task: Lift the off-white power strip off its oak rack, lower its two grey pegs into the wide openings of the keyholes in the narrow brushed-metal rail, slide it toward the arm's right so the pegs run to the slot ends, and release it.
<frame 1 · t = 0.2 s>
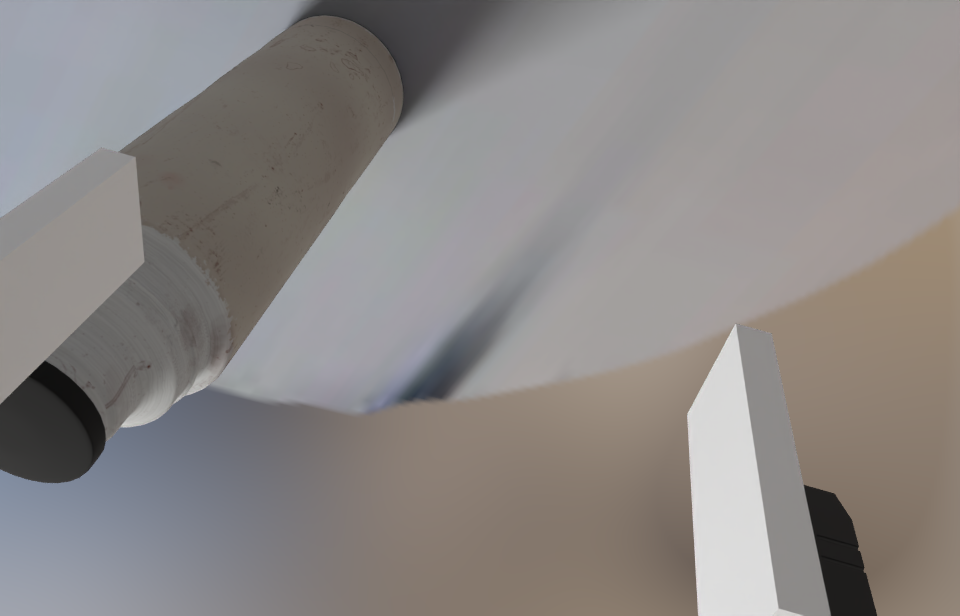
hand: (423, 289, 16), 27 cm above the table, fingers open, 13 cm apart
thermos bottle: (337, 85, 44), on the table
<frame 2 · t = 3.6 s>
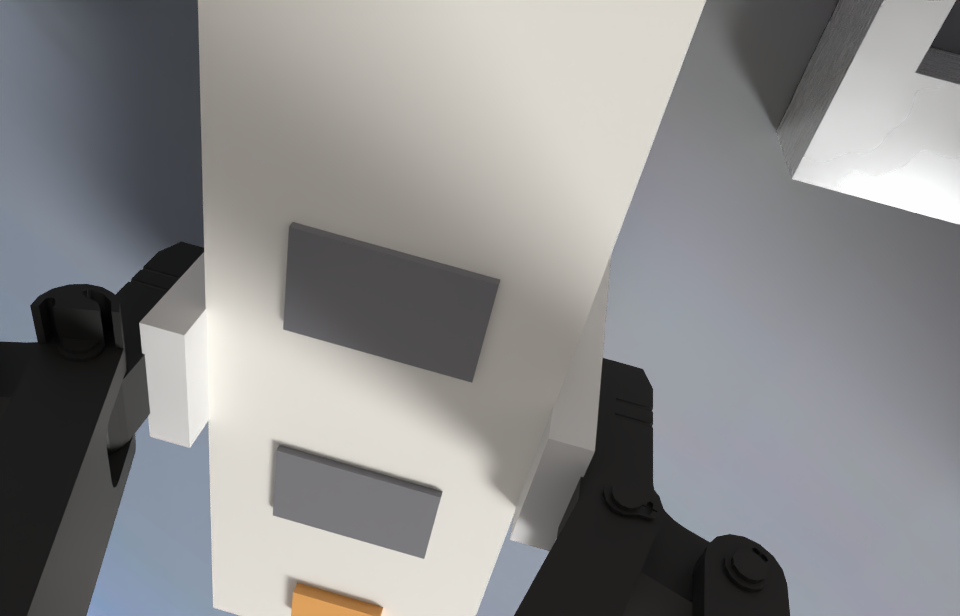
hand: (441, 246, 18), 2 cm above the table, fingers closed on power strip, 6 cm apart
power strip: (456, 213, 19), touching gripper, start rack
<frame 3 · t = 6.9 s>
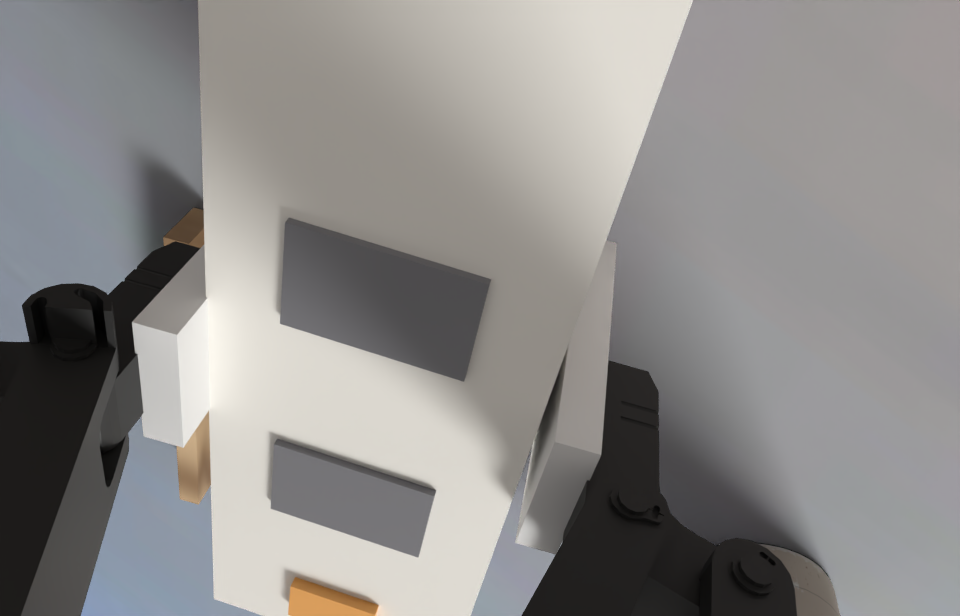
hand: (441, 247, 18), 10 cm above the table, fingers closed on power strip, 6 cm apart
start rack: (241, 365, 35), on the table
thermos bottle: (748, 589, 39), on the table
power strip: (465, 215, 19), point 8 cm above the table, touching gripper
when the fingers open (2 cm above the table, at t = 10.0 s): power strip stays where it is, resting on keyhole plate.
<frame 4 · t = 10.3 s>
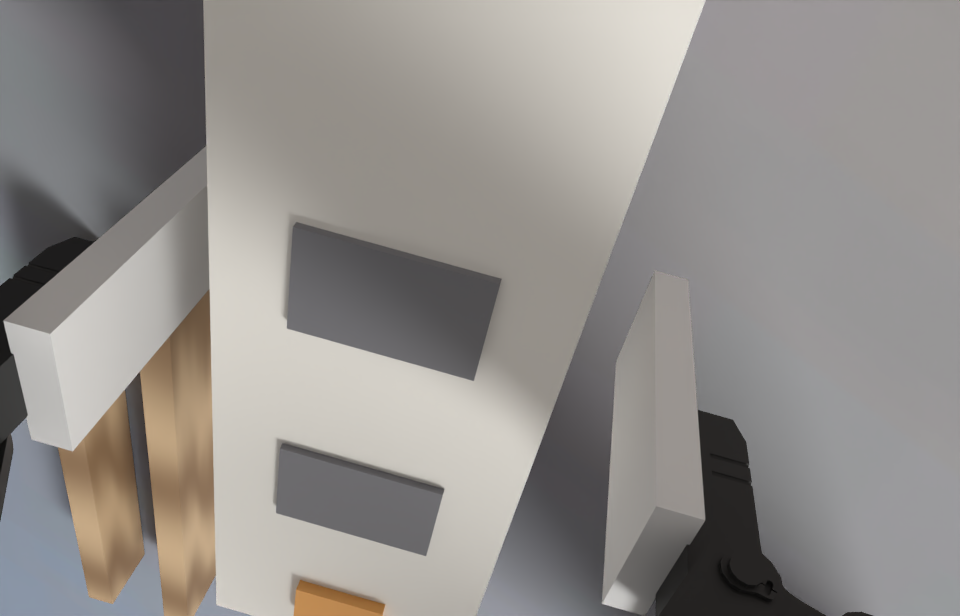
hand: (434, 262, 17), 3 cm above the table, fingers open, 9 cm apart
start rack: (158, 436, 27), on the table
power strip: (457, 213, 19), resting on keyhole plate
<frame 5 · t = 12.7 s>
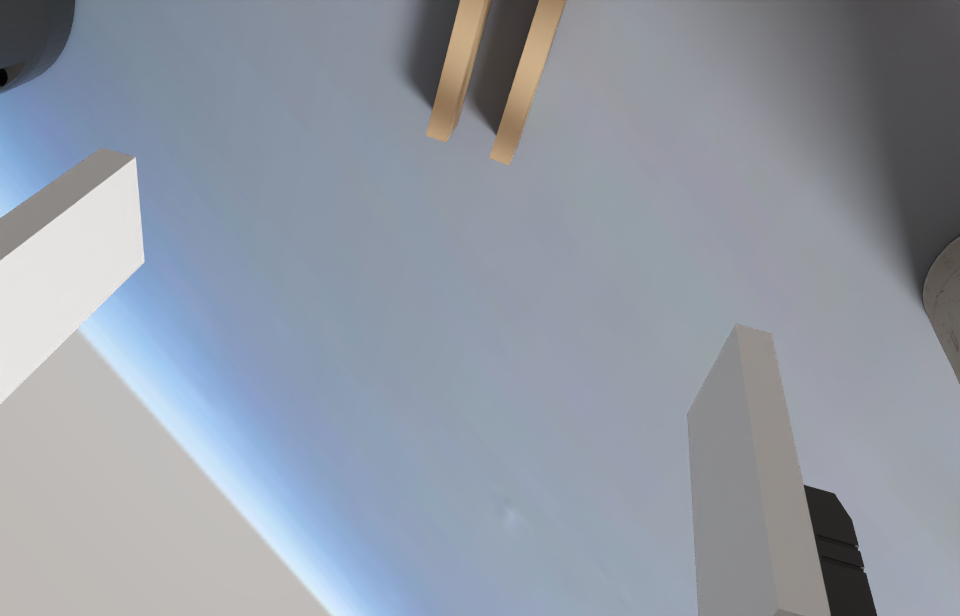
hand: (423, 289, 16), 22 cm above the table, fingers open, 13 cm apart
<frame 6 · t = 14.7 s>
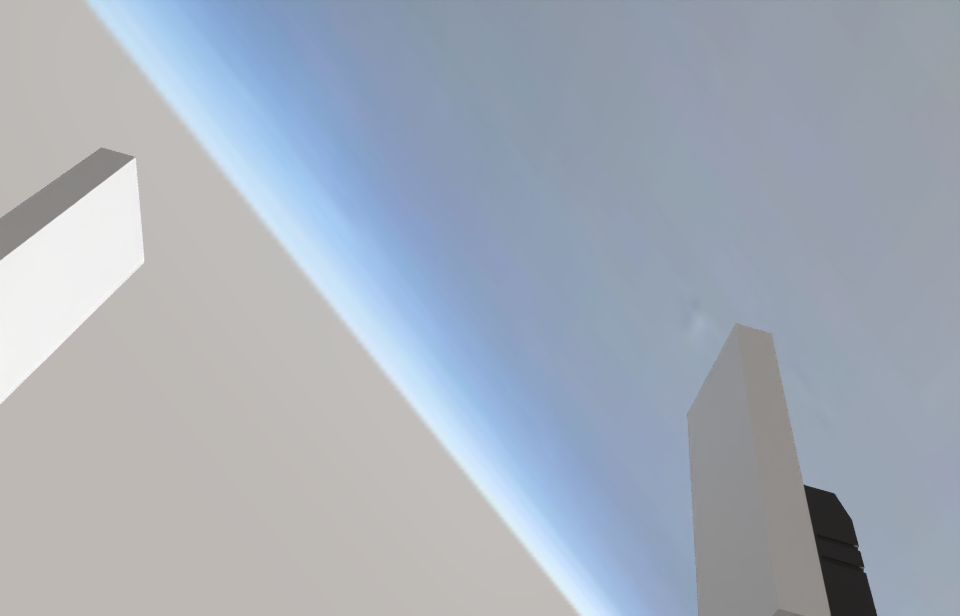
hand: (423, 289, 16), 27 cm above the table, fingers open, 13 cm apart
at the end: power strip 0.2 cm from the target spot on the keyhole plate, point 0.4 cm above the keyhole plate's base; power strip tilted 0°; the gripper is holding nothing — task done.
